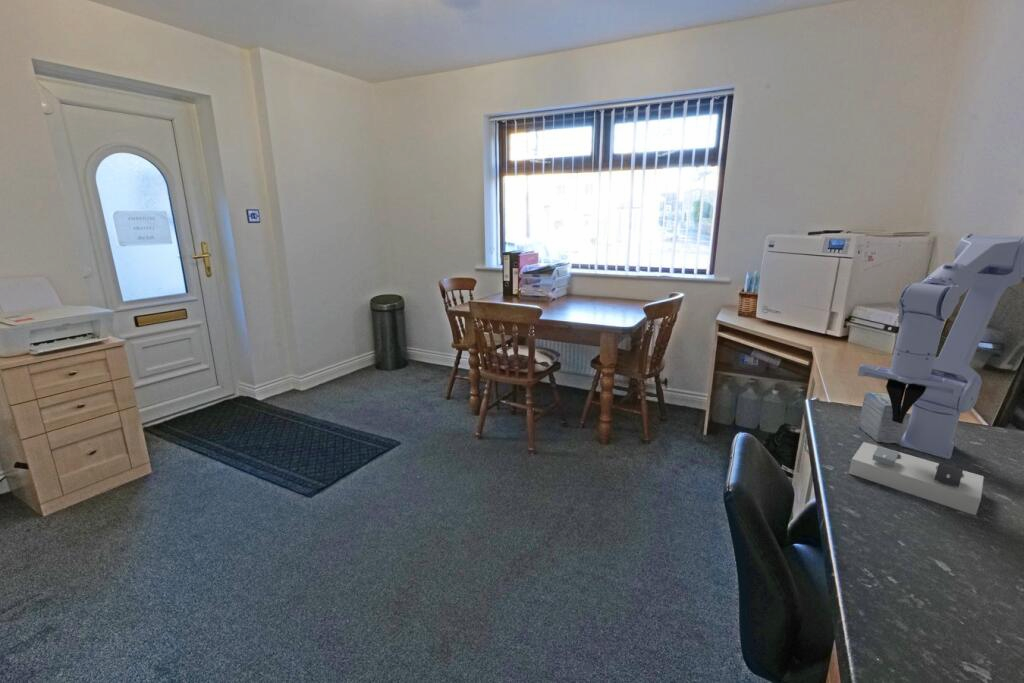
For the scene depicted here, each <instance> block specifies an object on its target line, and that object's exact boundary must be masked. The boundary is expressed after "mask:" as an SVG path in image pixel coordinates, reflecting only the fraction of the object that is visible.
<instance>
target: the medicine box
mask: <svg viewBox="0 0 1024 683" xmlns="http://www.w3.org/2000/svg"><path fill="white" fill-rule="evenodd" d="M863 397H864V398H863V402H862V407H861V411H860V415H859V419H858V423H857V424H858V425H857V427H858V426H859V427H860V428H861V429H860V428H859V427H858V428H859V429H860V430H861V431H863V432H864V433H865V434H866V433H867V434H866V435H868V436H869V437H870V436H871V437H872V438H871V437H870V438H871V439H872V440H874V441H875V442H876V443H880V442H883V443H882V444H891V443H897V444H896V445H899V443H900V441H901V439H902V435H903V434H902V433H903V429H904V425H905V420H906V416H907V414H906V415H905V417H904V420H903V422H902V423H898V422H894V421H892V418H893V413H892V405H891V400H890V397H889V394H888V393H885V392H884V393H883V392H882V393H881V392H865V393H864V396H863ZM902 404H903V403H902ZM902 404H901V408H902Z"/></svg>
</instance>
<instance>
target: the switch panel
mask: <svg viewBox="0 0 1024 683" xmlns="http://www.w3.org/2000/svg"><path fill="white" fill-rule="evenodd" d="M877 447H882V446H879V445H875V444H873V443H869V442H865V441H863V443H862V444H861V446H860V447H859V448H858V449H857V451H856V452H855V454H854V455H853V457H852V458H851V462H850V464H849V465H850V466H849V470H848V474H849V475H852V476H855V477H858V478H861V479H865V480H867V481H871V482H872V483H873V482H874V483H877V484H879V485H883V486H884V487H885V486H886V487H889V488H891V489H895V490H898V491H900V492H903V493H906V494H910V495H912V496H915V497H919V498H922V499H924V500H927V501H931V502H934V503H937V504H939V505H943V506H946V507H949V508H951V509H955V510H957V511H961V512H963V513H967V514H971V515H973V516H976V515H977V513H978V510H979V508H980V507H979V506H980V504H981V500H982V494H983V487H984V476H983V475H980V474H977V473H973V472H969V471H966V470H963V472H962V476H961V480H960V484H959V487H956V486H953V485H950V484H947V483H943V482H940V481H937V480H934V479H935V475H936V472H937V469H938V465H939V463H940V462H935V461H931V460H928V459H925V458H921V457H919V456H918V457H917V456H914V455H910V454H908V453H903V452H899V451H897V450H893V449H890V448H886V447H884V446H883V447H882V448H885V449H889V450H892V451H896V452H898V456H897V459H896V461H895V463H894V465H893V466H891V465H887V464H884V463H881V462H878V461H874V460H872V458H873V455H874V453H875V451H876V449H877Z"/></svg>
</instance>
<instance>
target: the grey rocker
mask: <svg viewBox="0 0 1024 683" xmlns="http://www.w3.org/2000/svg"><path fill="white" fill-rule="evenodd" d="M885 448H886V447H883V448H882V446H880V447H877V449H876V451H875V453H874V455H873V458H872V460H874V461H878V462H881V463H884V464H887V465H891V466H893V465H894V463H895V461H896V459H897V456H898V452H899V451H897V450H894V451H892V450H893V449H890V448H887V449H885ZM889 449H890V450H889ZM896 451H897V452H896Z"/></svg>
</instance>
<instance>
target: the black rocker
mask: <svg viewBox="0 0 1024 683" xmlns="http://www.w3.org/2000/svg"><path fill="white" fill-rule="evenodd" d="M938 463H939V465H938V469H937V472H936V475H935V479H934V480H937V481H940V482H943V483H947V484H950V485H953V486H956V487H959V484H960V480H961V476H962V472H963V471H964V470H963V469H961V468H958V467H954V466H950V465H947V464H945V463H940V462H938Z"/></svg>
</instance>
